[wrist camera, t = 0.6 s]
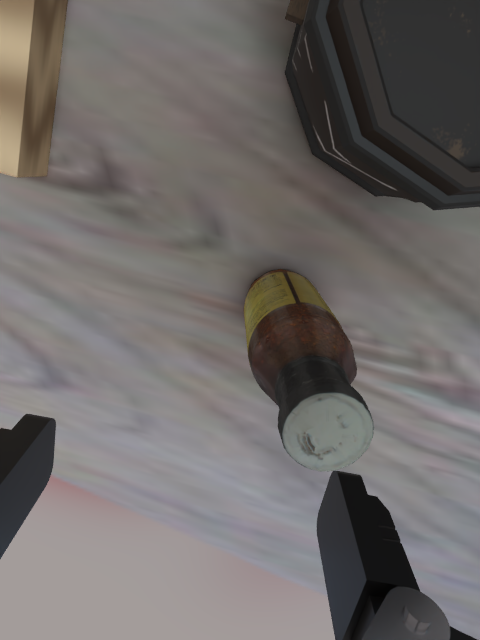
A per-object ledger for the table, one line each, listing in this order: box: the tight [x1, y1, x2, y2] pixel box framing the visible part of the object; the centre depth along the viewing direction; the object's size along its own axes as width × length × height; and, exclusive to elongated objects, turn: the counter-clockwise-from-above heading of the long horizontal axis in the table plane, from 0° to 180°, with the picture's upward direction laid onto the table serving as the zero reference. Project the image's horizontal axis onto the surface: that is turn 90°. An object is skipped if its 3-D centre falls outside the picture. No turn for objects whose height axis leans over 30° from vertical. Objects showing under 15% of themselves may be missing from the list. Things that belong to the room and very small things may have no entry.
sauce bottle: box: [244, 269, 374, 471], centre depth 28 cm, size 7×6×20 cm
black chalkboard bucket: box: [285, 0, 480, 210], centre depth 25 cm, size 18×18×16 cm
